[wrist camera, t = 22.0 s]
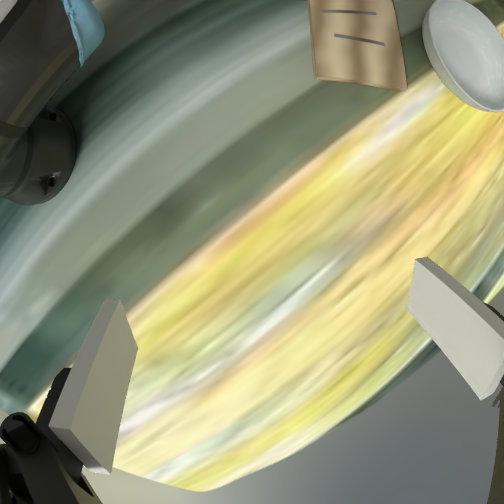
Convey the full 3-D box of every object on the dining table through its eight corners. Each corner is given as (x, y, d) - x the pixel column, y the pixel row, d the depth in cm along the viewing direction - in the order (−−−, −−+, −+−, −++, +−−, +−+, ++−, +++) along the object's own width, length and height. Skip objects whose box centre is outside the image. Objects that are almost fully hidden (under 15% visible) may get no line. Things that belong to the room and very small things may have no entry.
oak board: (313, 78, 37) (316, 75, 35) (302, -41, 31) (304, -46, 30) (402, 91, 37) (407, 89, 36) (380, -25, 32) (384, -29, 30)
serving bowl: (385, 34, 35) (405, 17, 28) (443, -2, 33) (462, -15, 26) (461, 138, 39) (488, 135, 33) (506, 85, 37) (529, 80, 30)
